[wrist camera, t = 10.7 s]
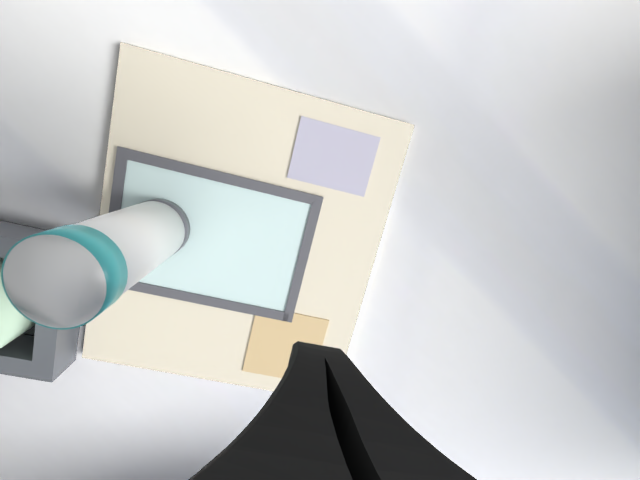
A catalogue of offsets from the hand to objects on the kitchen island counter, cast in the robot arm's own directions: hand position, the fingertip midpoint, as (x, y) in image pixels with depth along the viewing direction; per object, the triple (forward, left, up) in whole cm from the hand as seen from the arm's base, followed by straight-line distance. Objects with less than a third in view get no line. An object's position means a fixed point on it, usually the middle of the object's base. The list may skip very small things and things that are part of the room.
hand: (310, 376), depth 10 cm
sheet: (+1, +3, -10) cm, 10 cm away
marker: (+1, +7, -9) cm, 12 cm away
